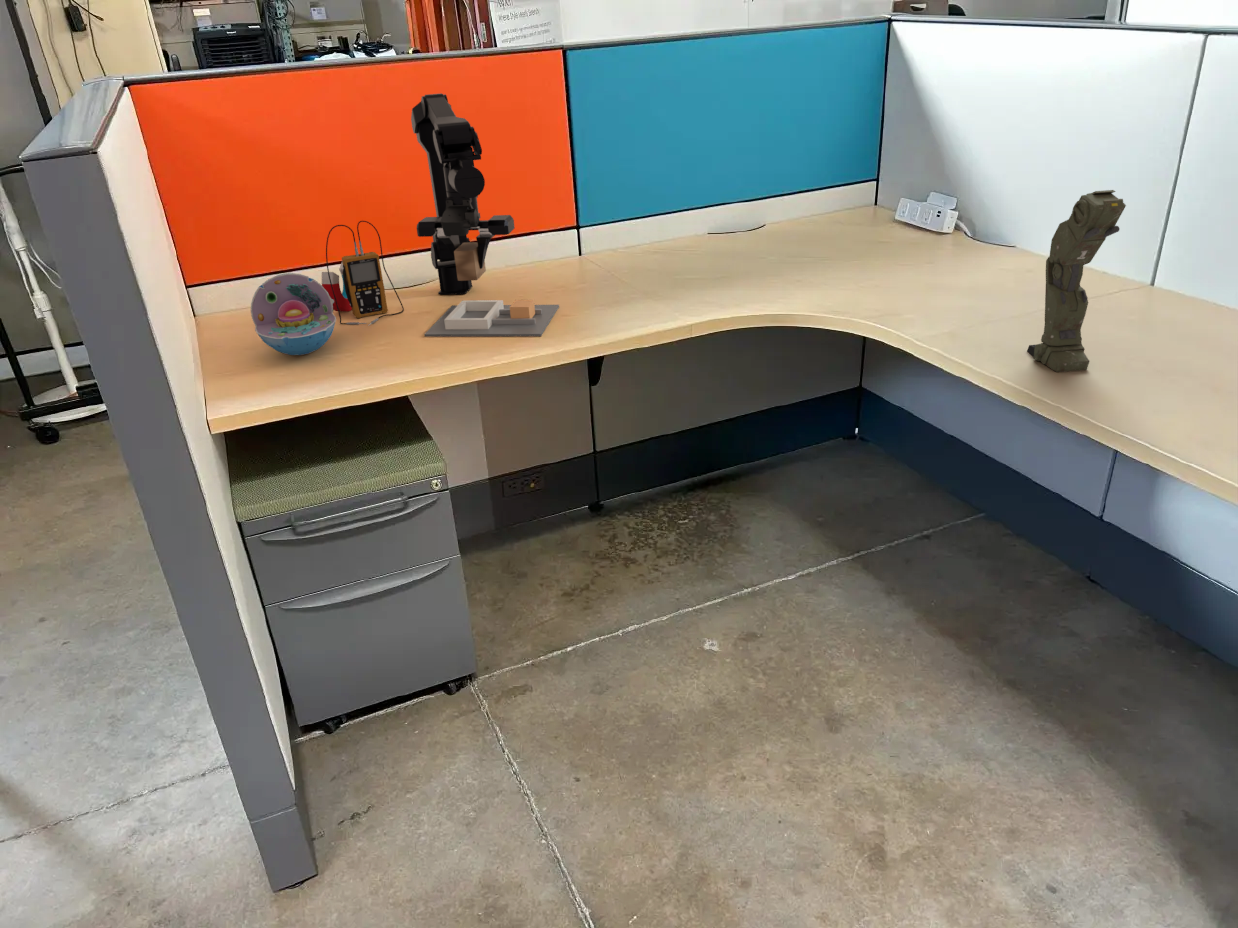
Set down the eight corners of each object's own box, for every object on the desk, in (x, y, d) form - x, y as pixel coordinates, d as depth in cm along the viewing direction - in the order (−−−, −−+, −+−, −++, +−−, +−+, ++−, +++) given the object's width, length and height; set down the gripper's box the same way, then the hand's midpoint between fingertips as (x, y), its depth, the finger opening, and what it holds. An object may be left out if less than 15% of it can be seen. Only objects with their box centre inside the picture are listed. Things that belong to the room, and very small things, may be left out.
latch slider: (511, 321, 183) (509, 307, 182) (516, 313, 188) (515, 299, 186) (530, 321, 183) (528, 307, 181) (535, 313, 187) (533, 299, 186)
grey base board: (424, 336, 180) (422, 324, 178) (452, 307, 196) (450, 296, 195) (541, 336, 176) (539, 324, 175) (559, 306, 193) (558, 295, 192)
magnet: (352, 302, 204) (344, 259, 199) (364, 302, 203) (355, 259, 199) (328, 318, 194) (318, 273, 189) (339, 319, 193) (330, 273, 188)
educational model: (265, 374, 165) (245, 295, 158) (258, 344, 180) (240, 271, 173) (351, 359, 170) (335, 282, 163) (337, 331, 186) (323, 259, 179)
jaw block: (457, 280, 180) (453, 251, 177) (467, 271, 186) (463, 242, 183) (477, 280, 180) (473, 250, 177) (485, 271, 186) (482, 242, 183)
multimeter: (345, 331, 185) (326, 235, 176) (335, 319, 193) (316, 226, 184) (414, 318, 191) (399, 224, 181) (402, 307, 199) (387, 216, 189)
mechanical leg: (1011, 339, 160) (1061, 178, 140) (1050, 336, 160) (1106, 175, 140) (1046, 384, 149) (1105, 217, 130) (1087, 381, 150) (1153, 214, 130)
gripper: (401, 199, 169) (414, 280, 176) (497, 196, 167) (506, 278, 174) (420, 188, 179) (431, 265, 186) (510, 185, 176) (518, 263, 184)
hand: (471, 268), depth 182 cm, fingers closed on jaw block, 4 cm apart
